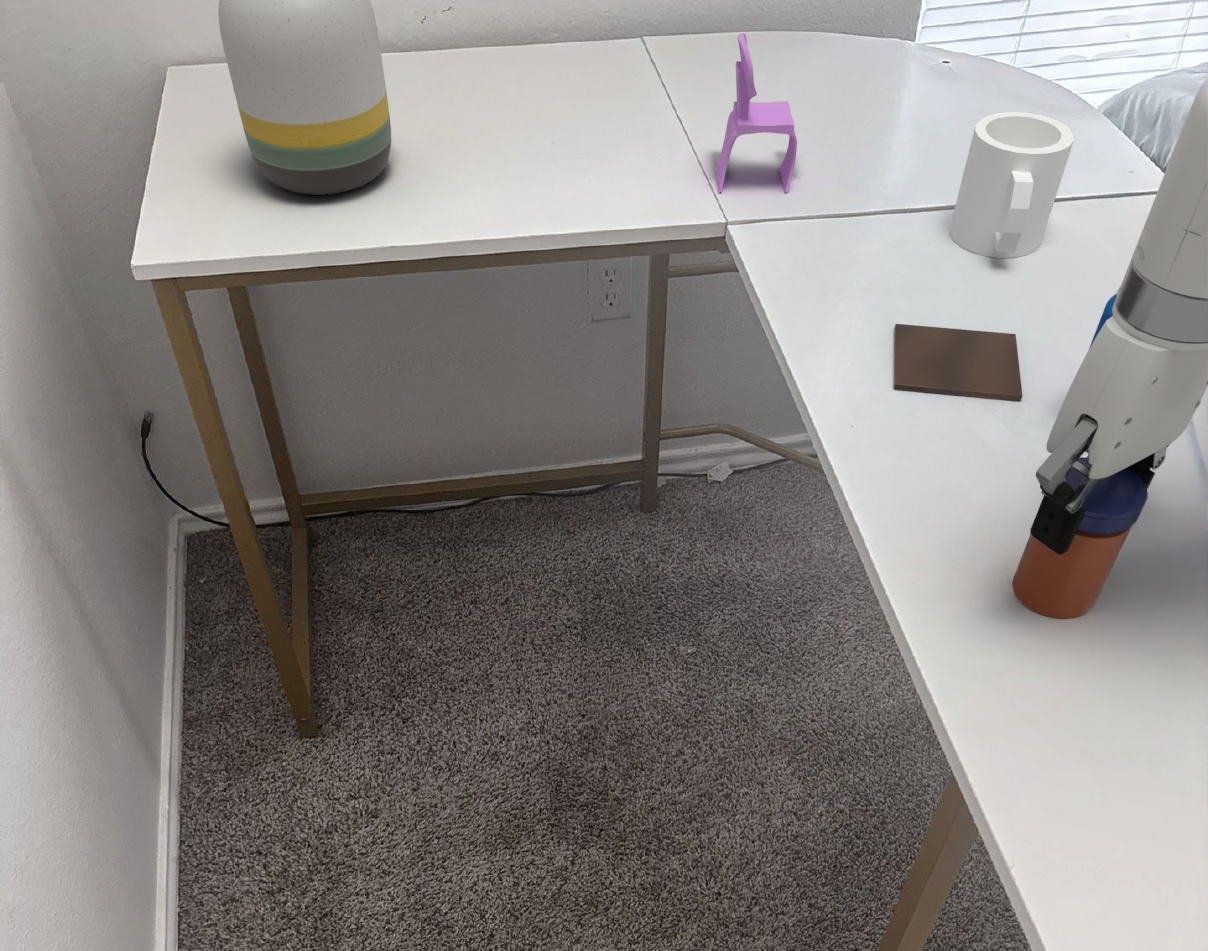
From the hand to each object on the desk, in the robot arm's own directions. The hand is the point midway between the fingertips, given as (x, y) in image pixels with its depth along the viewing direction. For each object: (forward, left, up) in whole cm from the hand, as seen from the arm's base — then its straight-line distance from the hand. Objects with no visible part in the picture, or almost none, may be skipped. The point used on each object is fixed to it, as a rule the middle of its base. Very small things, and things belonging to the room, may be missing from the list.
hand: (1082, 523), depth 83 cm
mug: (+2, -58, -7) cm, 58 cm away
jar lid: (0, 0, +3) cm, 3 cm away
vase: (+81, -61, -7) cm, 102 cm away
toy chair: (+30, -68, -7) cm, 75 cm away
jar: (0, 0, -7) cm, 7 cm away
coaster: (+7, -32, -7) cm, 33 cm away
